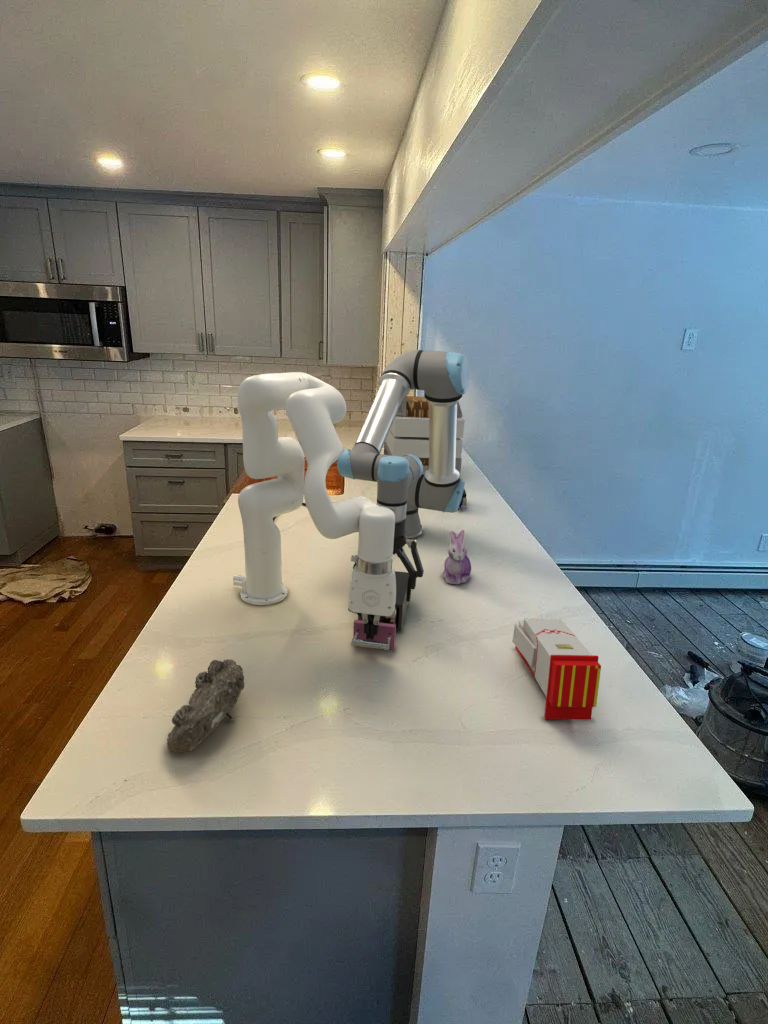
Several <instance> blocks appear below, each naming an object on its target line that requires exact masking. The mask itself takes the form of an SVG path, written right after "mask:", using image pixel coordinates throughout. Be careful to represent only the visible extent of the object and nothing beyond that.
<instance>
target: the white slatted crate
mask: <svg viewBox="0 0 768 1024" xmlns="http://www.w3.org/2000/svg"><path fill="white" fill-rule="evenodd" d="M464 429H465V419H464V418H463V411H462V408H461V405H460V401H459V402H457V427H456V459H455V469H456V470H457V471H458V472H459V474H460V475H461V472H462V461H463V460H462V453H463V442H464V441H463V440H462V439H463V438H464V431H465V430H464ZM407 454H411V455H415V456H416V457H418V458H419V459H420V461H421V462H422V465H423V467H429V402H428V401H427V400H426V399H425V398H424V396H415V395H414V396H413V395H412V396H411V395H407V396H406V397H404V398H403V400H402V402H401V404H400V407H399V409H398V412H397V414H396V416H395V419H394V421H393V424H392V426H391V428H390V431H389V433H388V436H387V438H386V440H385V443H384V445H383V455H391V456H400V457H401V456H403V455H407Z"/></svg>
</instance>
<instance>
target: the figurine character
mask: <svg viewBox="0 0 768 1024" xmlns="http://www.w3.org/2000/svg"><path fill="white" fill-rule="evenodd" d="M467 503H468V498H467V492H466V489H465V488H464V491H463V495H462V499H461V502H460V505H459V507H458V509H460V511H463V507H464V508H465V507H467Z"/></svg>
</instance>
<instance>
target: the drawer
mask: <svg viewBox="0 0 768 1024" xmlns="http://www.w3.org/2000/svg"><path fill="white" fill-rule="evenodd" d="M395 609H396V616H395V617H393V618H385V619H383V620H382V621H380V622H379V623H378V633H377V635H374V639H373V640H371V639H370V638H369V639H366V634H365V633H364V623H363V620H362V619H361V618H360V617H359V620H358V619H354V621H353V636H352V638H351V642H350V644H351V646H355V647H361V648H370V649H378V650H379V649H380V650H386V651H389V650H390V649H392V650H394V649H395V647H396V634H397V633H396V632H397V631H396V625H397V621H398V617H399V607H395ZM370 616H371V617H372V618H371V619H372V620H373V617H374V616H375V615H371V614H370Z"/></svg>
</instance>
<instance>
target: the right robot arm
mask: <svg viewBox="0 0 768 1024" xmlns="http://www.w3.org/2000/svg"><path fill="white" fill-rule="evenodd" d="M469 381H470V366H469V363H468V359H467V357H466V356H465V355H464V354H463V353H461V352H453V351H442V350H441V351H440V350H425V349H424V350H422V349H412V350H408V351H405V352H403V353H402V354H399V355H398V356H397V357H395V358H394V359H393V360H391V361H390V363H389V364H388V365H387V366H386V367H385V368H384V370H383V371H382V373H381V374H380V377H379V379H378V386H379V388H378V391H377V393H376V395H375V396H374V397H375V398H374V400H373V402H372V404H371V406H370V408H369V411H368V413H367V415H366V418H365V420H364V422H363V424H362V427H361V429H360V431H359V434H358V435H357V438H356V440H355V443H354V445H353V446H352V449H343V454H342V455H341V457H340V458H339V459H338V460H336V461H337V462H336V467H337V471H338V474H339V475H340V476H341V477H343V478H347V479H352V480H358V481H359V480H360V481H366V482H375V483H376V485H377V488H376V490H377V491H376V504H377V505H378V506H381V507H386V508H389V509H390V510H392V511H393V512H394V514H395V531H394V545H393V556H394V555H396V556H397V558H398V559H399V560H400V561H401V563H402V565H403V566H404V568H405V570H406V571H407V572H408V573H409V577H408V589H407V602H408V603H410V602H411V597H412V590H415V589H416V585H417V578H423V576H424V572H425V571H424V567H423V564H422V560H421V557H420V554H419V551H418V546H417V545H418V538H420V537H421V536H422V535H423V525H422V524H421V518H420V515H419V509H424V510H431V511H435V512H436V511H437V512H442V513H450V514H451V513H452V514H453V513H456V512H457V511H458V509H459V508H460V507H459V505H460V502H461V499H462V495H463V491H464V489H465V484H466V483H465V482H466V481H465V479H462V478H461V474H459V472H458V471H457V470H456V469H455V459H456V427H457V402H459V403H460V401H461V400H462V399H463V396H464V395H465V394H466V393H467V392H468V390H469V385H470V382H469ZM412 390H417V391H423V394H424V395H423V397H424V398H425V399H426V400H427V401H428V402H429V465H428V469H427V470H425V471H424V466H423V465H422V462H421V461H420V459H419V458H418V457H416V456H415V455H411V454H407V455H403V456H401V457H400V456H391V455H384V453H381V452H382V450H383V449H384V443H385V442H386V441H385V440H386V438H387V436H388V433H389V431H390V428H391V426H392V424H393V421H394V419H395V416H396V414H397V412H398V409H399V407H400V404H401V402H402V400H403V398H404V397H406V396H409V394H410V391H412ZM423 472H424V473H423ZM301 506H306V503H305V502H304V501H303V502H302V505H301ZM458 507H459V508H458ZM406 545H407V547H408V549H410V552H411V553H410V554H411V557H412V560H413V563H414V565H413V564H412V562H411V560H410V559H409V557H408V555H407V554H406V552H405V549H404V548H403V547H405V546H406ZM356 565H357V564H356V563H355V562H353V566H352V570H353V569H354V567H355V566H356ZM414 566H415V567H414Z"/></svg>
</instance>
